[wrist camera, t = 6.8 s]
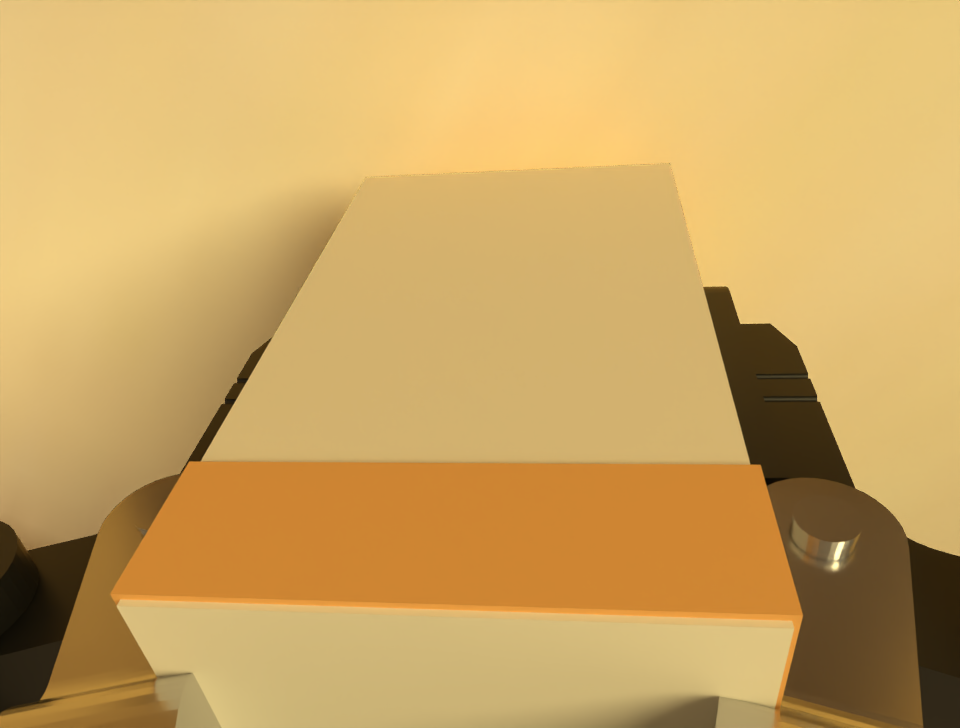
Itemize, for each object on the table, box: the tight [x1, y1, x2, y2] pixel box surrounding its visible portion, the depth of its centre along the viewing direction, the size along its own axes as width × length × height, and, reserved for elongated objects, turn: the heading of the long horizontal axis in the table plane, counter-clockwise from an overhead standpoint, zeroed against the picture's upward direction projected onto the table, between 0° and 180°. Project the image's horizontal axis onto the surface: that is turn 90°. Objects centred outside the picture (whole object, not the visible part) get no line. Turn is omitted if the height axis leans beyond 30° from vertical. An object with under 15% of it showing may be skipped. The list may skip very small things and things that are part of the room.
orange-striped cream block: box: [110, 163, 803, 728], centre depth 9 cm, size 4×5×7 cm
